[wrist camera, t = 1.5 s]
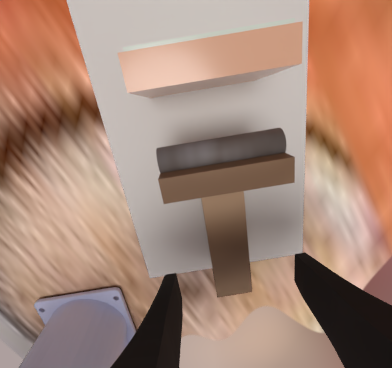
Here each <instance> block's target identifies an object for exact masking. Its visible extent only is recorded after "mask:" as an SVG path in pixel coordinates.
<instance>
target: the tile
mask: <svg viewBox="0 0 392 368" xmlns="http://www.w3.org/2000/svg"><path fill="white" fill-rule="evenodd" d="M302 32H303V21H302V22H296V23H295V18H291V19H285V20H280V21H274V22H268V23H262V24H256V25H250V26H244V27H238V28H232V29H226V30H221V31H215V32H209V33H203V34H197V35H191V36H185V37H179V38H173V39H168V40H162V41H156V42H150V43H144V44H138V45H132V46H126V47H123V51H124V52H119V53H118V57H119V61H120V65H121V69H122V73H123V77H124V81H125V85H126V89H127V93H130V94H134V95H138V96H143V97H147V98H155V97H161V96H167V95H173V94H179V93H185V92H191V91H197V90H203V89H209V88H215V87H221V86H227V85H232V84H238V83H244V82H250V81H255V80H258V79H261V78H264V77H267V76H269V75H272V74H275V73H278V72H280V71H283V70H286V69H289V68H291V67H294V66H297V65H300V64H302Z"/></svg>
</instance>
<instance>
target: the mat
mask: <svg viewBox="0 0 392 368" xmlns="http://www.w3.org/2000/svg"><path fill="white" fill-rule="evenodd" d="M67 4H68V7H69V10H70V14H71V17H72V20H73V24H74V27H75V30H76V34H77V37H78V40H79V44H80V47H81V50H82V54H83V57H84V60H85V64H86V67H87V70H88V74H89V77H90V80H91V84H92V87H93V90H94V94H95V97H96V100H97V104H98V107H99V110H100V114H101V117H102V120H103V124H104V127H105V130H106V134H107V137H108V140H109V144H110V147H111V150H112V154H113V157H114V160H115V164H116V167H117V170H118V174H119V177H120V180H121V184H122V187H123V190H124V194H125V197H126V200H127V204H128V207H129V210H130V214H131V217H132V220H133V224H134V227H135V230H136V234H137V237H138V240H139V244H140V247H141V250H142V254H143V257H144V260H145V264H146V267H147V270H148V274H149V277H150V278H155V277H161V276H165V275H166V274H172V273H176V274H179V273H186V272H192V271H198V270H204V269H210V268H212V263H211V257H210V250H209V244H208V238H207V232H206V226H205V220H204V214H203V207H202V201H201V198H198V199H192V200H186V201H180V202H174V203H168V204H164V203H163V199H162V194H161V190H160V186H159V182H158V178H159V175H160V171H159V167H158V163H157V156H156V149H157V148H160V147H166V146H172V145H178V144H184V143H190V142H196V141H202V140H208V139H214V138H220V137H226V136H232V135H238V134H244V133H250V132H256V131H262V130H268V129H274V128H281V129H282V130H283V131H284V134H285V137H286V152H285V153H287V154H290V155H292V156H294V157H295V183H290V184H283V185H277V186H271V187H265V188H259V189H253V190H247V191H244V200H245V212H246V224H247V236H248V248H249V260H250V262H254V261H260V260H266V259H272V258H279V257H285V256H291V255H295V254H299V253H303V216H304V177H305V139H306V100H307V61H308V23H309V0H67ZM291 18H295V23H296V22H302V21H303V32H302V64H300V65H297V66H294V67H291V68H289V69H286V70H283V71H280V72H278V73H275V74H272V75H269V76H267V77H264V78H261V79H258V80H255V81H250V82H244V83H238V84H232V85H227V86H221V87H215V88H209V89H203V90H197V91H191V92H185V93H179V94H173V95H167V96H161V97H155V98H147V97H143V96H138V95H134V94H130V93H127V89H126V85H125V81H124V77H123V73H122V69H121V65H120V61H119V57H118V53H119V52H124V51H123V47H126V46H132V45H138V44H144V43H150V42H156V41H162V40H168V39H173V38H179V37H185V36H191V35H197V34H203V33H209V32H215V31H221V30H226V29H232V28H238V27H244V26H250V25H256V24H262V23H268V22H274V21H280V20H285V19H291Z"/></svg>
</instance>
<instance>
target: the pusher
mask: <svg viewBox="0 0 392 368" xmlns="http://www.w3.org/2000/svg"><path fill="white" fill-rule="evenodd" d="M285 152H286V137H285V134H284V131H283V130H282V129H281V128H274V129H268V130H262V131H256V132H250V133H244V134H238V135H232V136H226V137H220V138H214V139H208V140H202V141H196V142H190V143H184V144H178V145H172V146H166V147H160V148H157V149H156V156H157V163H158V167H159V171H160V175H159V178H158V182H159V186H160V190H161V194H162V199H163V203H164V204H168V203H174V202H180V201H186V200H192V199H198V198H201V201H202V207H203V214H204V220H205V226H206V232H207V238H208V244H209V250H210V257H211V263H212V268H213V274H214V280H215V286H216V292H217V297H224V296H230V295H236V294H242V293H248V292H252V284H251V272H250V260H249V248H248V236H247V224H246V212H245V200H244V191H247V190H253V189H259V188H265V187H271V186H277V185H283V184H290V183H295V157H294V156H292V155H290V154H287V153H285Z"/></svg>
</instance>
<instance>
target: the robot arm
mask: <svg viewBox="0 0 392 368" xmlns="http://www.w3.org/2000/svg"><path fill="white" fill-rule="evenodd" d="M295 283H296V285H297V287H298V289H299V291H300V293H301V295H302V297H303V299H304V300H305V302H306V303H307V305H308V307H309V308H310V310H311V311H312V313H313V315H314V316H315V318H316V319H317V321H318V322H319V324H320V325H321V327H322V329H323V330H324V332H325V333H326V335H327V336H328V338H329V340H330V341H331V343H332V345H333V346H334V348H335V350H336V352H337V354H338V356H339V358H340V360H341V362H342V363H343V365H344V367H345V368H392V305H389V304H387V303H385V302H383V301H382V300H380V299H378V298H376V297H374V296H372V295H370V294H368V293H367V292H365V291H363V290H361V289H360V288H358V287H356V286H355V285H353V284H351V283H350V282H348V281H346V280H345V279H343V278H342V277H340V276H339V275H337V274H336V273H334V272H333V271H331V270H330V269H328V268H327V267H325V266H324V265H322V264H321V263H319V262H318V261H317V260H315V259H314V258H312V257H311V256H309V255H308V254H306V253H299V254H295ZM116 296H117V297H116ZM34 306H35V308H36V310H37V312H38V314H39V315H40V317H41V319H42V320H43V322H44V324H45V327H44V328H43V330H42V332H41V333H40V335H39V336H38V338H37V340H36V341H35V343H34V344H33V346H32V347H31V349H30V351H29V352H28V354H27V355H26V357H25V358H24V360H23V362H22V363H21V365H20V366H19V368H179V358H180V345H181V344H180V343H181V331H182V296H181V292H180V288H179V284H178V280H177V276H176V273H172V274H166V275H165V276H164V279H163V281H162V284H161V286H160V288H159V291H158V293H157V295H156V297H155V299H154V301H153V303H152V305H151V307H150V309H149V311H148V313H147V314H146V316H145V318H144V320H143V321H142V323H141V325H140V326H139V328H138V330H137V331H136V330H135V327H134V324H133V322H132V319H131V316H130V313H129V311H128V308H127V305H126V303H125V300H124V297H123V295H122V292H121V290H120V289H119V288H117V287H112V288H106V289H100V290H94V291H88V292H81V293H75V294H69V295H63V296H57V297H50V298H44V299H39V300H37V301H36V303H35V304H34Z"/></svg>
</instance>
